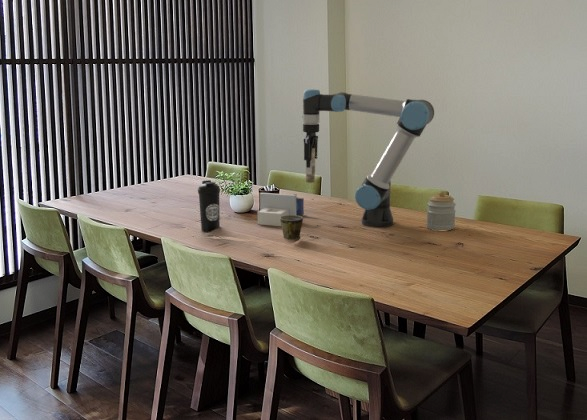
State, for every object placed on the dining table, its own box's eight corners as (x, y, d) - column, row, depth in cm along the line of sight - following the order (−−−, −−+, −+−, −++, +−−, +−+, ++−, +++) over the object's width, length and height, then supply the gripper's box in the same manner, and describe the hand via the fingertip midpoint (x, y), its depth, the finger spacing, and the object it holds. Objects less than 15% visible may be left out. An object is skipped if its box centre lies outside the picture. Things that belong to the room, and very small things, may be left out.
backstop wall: (296, 223, 340) (296, 194, 337) (278, 235, 319) (278, 204, 316) (262, 220, 346) (261, 192, 343) (242, 231, 325) (241, 202, 322)
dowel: (315, 181, 333) (316, 147, 329) (312, 182, 329) (313, 148, 325) (307, 180, 334) (308, 147, 330) (304, 182, 330) (305, 148, 327)
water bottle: (204, 233, 323) (202, 184, 318) (196, 228, 332) (194, 180, 327) (224, 230, 328) (223, 182, 322) (216, 226, 336) (214, 178, 331)
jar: (421, 229, 326) (422, 191, 322) (434, 223, 336) (435, 187, 332) (447, 233, 318) (448, 195, 314) (459, 227, 328) (461, 190, 324)
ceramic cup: (281, 236, 316) (281, 214, 314) (303, 236, 315) (303, 215, 313) (278, 244, 304) (278, 222, 301) (301, 244, 303) (301, 222, 300)
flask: (304, 215, 357) (304, 194, 354) (301, 216, 354) (301, 195, 352) (288, 213, 361) (288, 192, 359) (285, 214, 359) (285, 193, 356)
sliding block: (288, 221, 338) (288, 209, 337) (281, 226, 329) (281, 213, 328) (265, 219, 343) (265, 207, 341) (257, 224, 333) (257, 211, 332)
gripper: (309, 121, 334) (309, 169, 340) (296, 124, 319) (296, 175, 324) (324, 121, 331) (324, 170, 337) (312, 125, 316) (311, 177, 321)
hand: (310, 173), depth 330 cm, fingers closed on dowel, 4 cm apart
